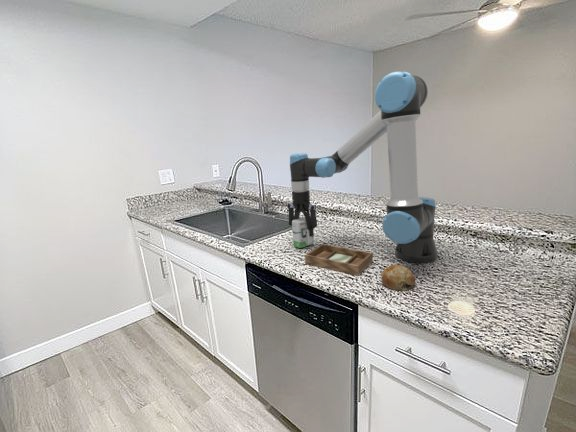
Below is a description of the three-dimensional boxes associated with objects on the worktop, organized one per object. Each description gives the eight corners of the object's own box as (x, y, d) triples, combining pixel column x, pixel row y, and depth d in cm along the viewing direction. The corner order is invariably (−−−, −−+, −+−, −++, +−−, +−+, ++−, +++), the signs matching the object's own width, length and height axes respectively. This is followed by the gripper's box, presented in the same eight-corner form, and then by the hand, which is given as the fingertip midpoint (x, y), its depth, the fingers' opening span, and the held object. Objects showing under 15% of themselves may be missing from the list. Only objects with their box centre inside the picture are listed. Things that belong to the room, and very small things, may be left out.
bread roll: (391, 302, 94) (400, 285, 89) (372, 277, 101) (379, 260, 96) (415, 294, 98) (425, 277, 93) (395, 270, 105) (403, 254, 100)
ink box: (300, 248, 131) (298, 222, 128) (292, 246, 135) (291, 220, 132) (314, 243, 136) (313, 218, 133) (307, 241, 140) (305, 216, 137)
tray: (372, 261, 115) (372, 252, 114) (358, 275, 105) (358, 266, 104) (322, 251, 128) (322, 243, 127) (305, 263, 117) (304, 255, 116)
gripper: (324, 189, 127) (326, 242, 132) (287, 188, 138) (291, 236, 143) (315, 193, 121) (317, 247, 127) (277, 191, 132) (281, 241, 138)
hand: (303, 241), depth 135 cm, fingers closed on ink box, 6 cm apart
